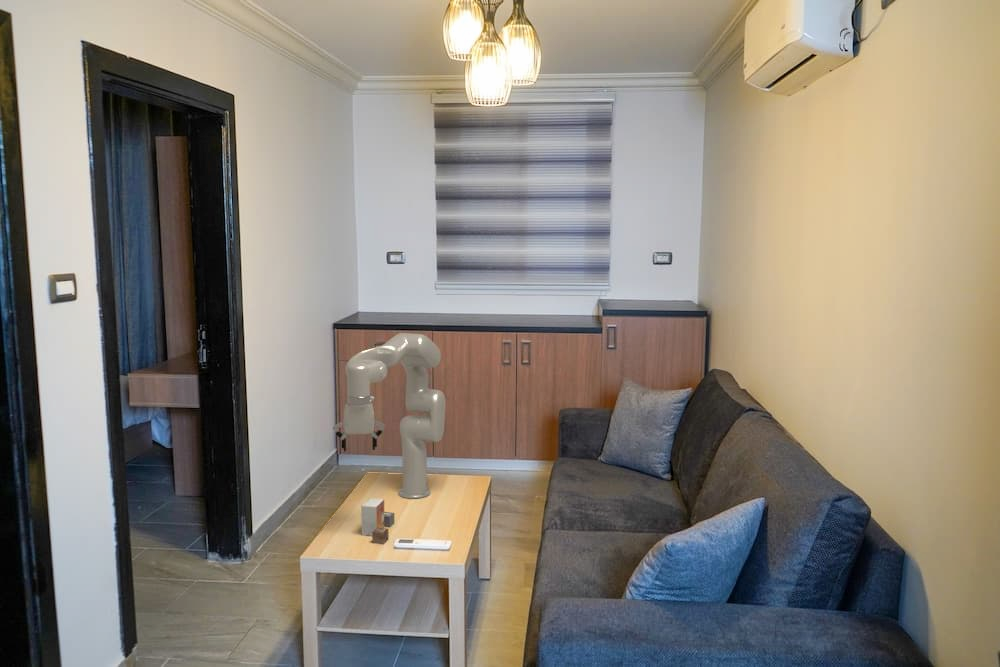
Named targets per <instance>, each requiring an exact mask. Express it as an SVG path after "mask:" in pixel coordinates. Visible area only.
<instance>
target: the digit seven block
mask: <svg viewBox="0 0 1000 667" xmlns="http://www.w3.org/2000/svg"><path fill="white" fill-rule="evenodd" d="M371 537H372V540H371V541H372V542H371V543H372V544H378V545H385V544H386V543H387V542H388V541H389V528H387V527H384V528H378V527H377V528H376V529H375V530H374V531H373V532H372V536H371Z"/></svg>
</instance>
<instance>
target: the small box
mask: <svg viewBox="0 0 1000 667" xmlns="http://www.w3.org/2000/svg"><path fill="white" fill-rule="evenodd" d="M360 508H361V510H360V511H361V513H360V516H361V517H360V518H361V535H362V536H371V537H372V532H373V531H374V530H375V529H376V528H377V527H378V528H385V527H384V512H385V499H382V498H372V497H371V498H368V499H367V501H365V502H364V503H363V504H362V505H361V506H360Z"/></svg>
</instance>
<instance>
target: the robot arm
mask: <svg viewBox="0 0 1000 667" xmlns="http://www.w3.org/2000/svg"><path fill="white" fill-rule="evenodd" d="M441 359H442V354H441V350H440V349H439V347H438V346H437V344H436V343H435V342H433V340H431V338H429V336H426V335H425V334H422V333H409V332H400V333H397V334H395V335H394V336H393V337H391V338H390V339H389V340H387V341H386V342H385V343H383V344H382V345H379V346H375V347H372V348H369V349H366V350H363V351H360V352H357V353H356V354H355V355H353V356H352V357H350V359H349V360H348V361H347V362H346V364H345V367H344V369H345V370H344V373H345V376H346V389H347V390H346V392H347V393H346V395H347V400H346V401H347V403H345V405H344V410H343V420H342V421H341V422H339V423H337V424H335V425H333V426H332V430H333V431H334V433H335V435H336V436H337V437H338V438H339V439H340V440H341V449H343V452H347V451H346V450H347V438H346V437H347V436H348V435H367V434H368V435H371V436H372V437H371V438H372V439H371V440H372V442H371V444H372V450H373V451H375V450H376V448H377V447H378V438H379V437H380V436H381V434H383V432H384V430H385V428H386V424H384V423H382V422H381V421H378V420H377V419H375V413H374V406H373V403H372V401H375V396H373V395H371V383H372V384H373V383H379V382H382V381H383V380H384V379H386V377H387V375H388V368H390V367H393V366H396V365H397V364H399V363H401V365H402V366H403V368H404V370H405V374H406V389H405V390H406V391H405V407H406V410H407V411H410V412H411V413H412V412H414V413H419V414H420V413H422V414H428V415H429V414H430V415H429V416H423V415H415V414H413V415H412V414H410V415H406V416H403V418H402V419H401V420H400V422H399V433H400V439H401V446H402V447H401V448H402V457H401V458H402V487H401V488H400V489H398V495H399V496H400V497H402V498H405V499H421V498H422V499H423V498H426V497H428V496H430V495H431V492H432V491H431V489H430V488H429V487H428V486H427V485H428V484H427V483H428V482H429V478H428V477H427V474H428V473H427V467H428V466H427V465H428V464H427V463H428V462H427V461H428V460H427V459H428V458H427V448H426V445H425V443H424V442H429V443H437V442H440V441H441V440H442V439H443V436H444V432H445V423H446V422H445V421H446V410H447V409H446V406H447V404H446V402H447V401H446V396H445V393H444V391H441V390H439V389H432V388H429V373H428V371H427V368H435V367H437V366H438V365H439V364H440V362H441ZM375 426H378V427H379V429H378V430H377V431H375ZM342 427H343V432H341V431H339V430H340V429H339V428H342Z"/></svg>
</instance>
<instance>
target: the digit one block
mask: <svg viewBox="0 0 1000 667" xmlns="http://www.w3.org/2000/svg"><path fill="white" fill-rule="evenodd" d="M394 525H395V512H390V511H384V528H388V529H389V528H391V527H392V526H394Z"/></svg>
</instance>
